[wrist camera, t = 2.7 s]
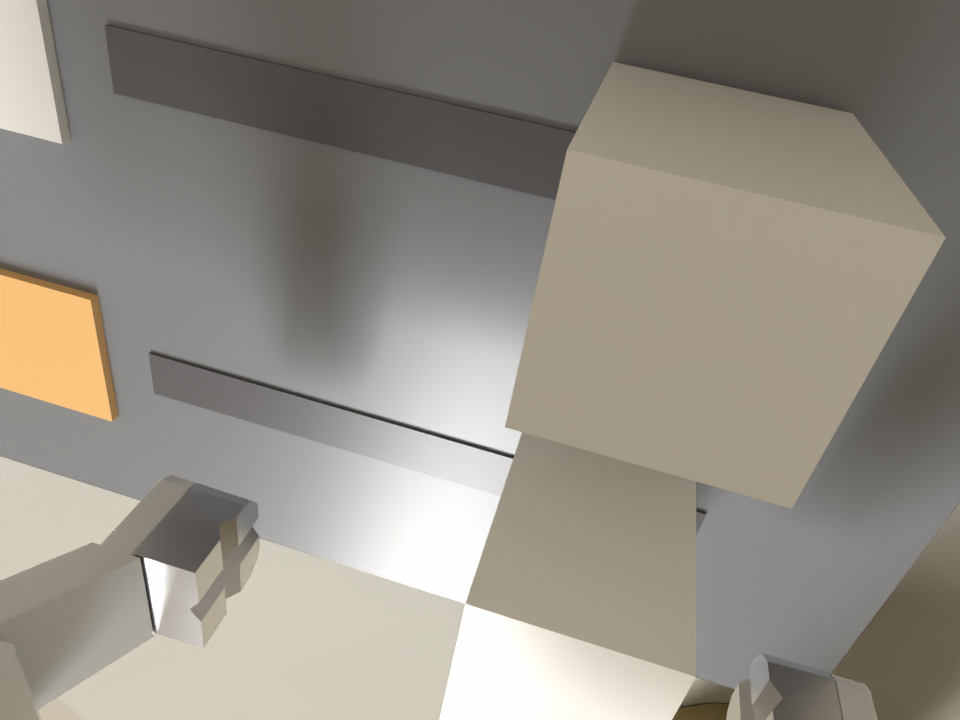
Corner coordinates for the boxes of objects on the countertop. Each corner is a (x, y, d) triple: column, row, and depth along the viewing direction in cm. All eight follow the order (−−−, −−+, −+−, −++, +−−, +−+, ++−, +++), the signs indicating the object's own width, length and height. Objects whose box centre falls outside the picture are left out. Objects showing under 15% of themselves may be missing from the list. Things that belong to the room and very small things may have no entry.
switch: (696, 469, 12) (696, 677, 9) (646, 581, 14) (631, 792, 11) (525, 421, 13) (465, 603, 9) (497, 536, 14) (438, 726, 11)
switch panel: (1865, -999, 5) (2471, -1465, 3) (792, 631, 17) (804, 719, 15) (-349, -1055, 8) (-668, -1347, 6) (28, 398, 19) (-41, 450, 17)
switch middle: (852, 113, 9) (946, 237, 6) (762, 319, 10) (792, 509, 7) (613, 62, 9) (567, 149, 6) (562, 269, 11) (504, 427, 8)
